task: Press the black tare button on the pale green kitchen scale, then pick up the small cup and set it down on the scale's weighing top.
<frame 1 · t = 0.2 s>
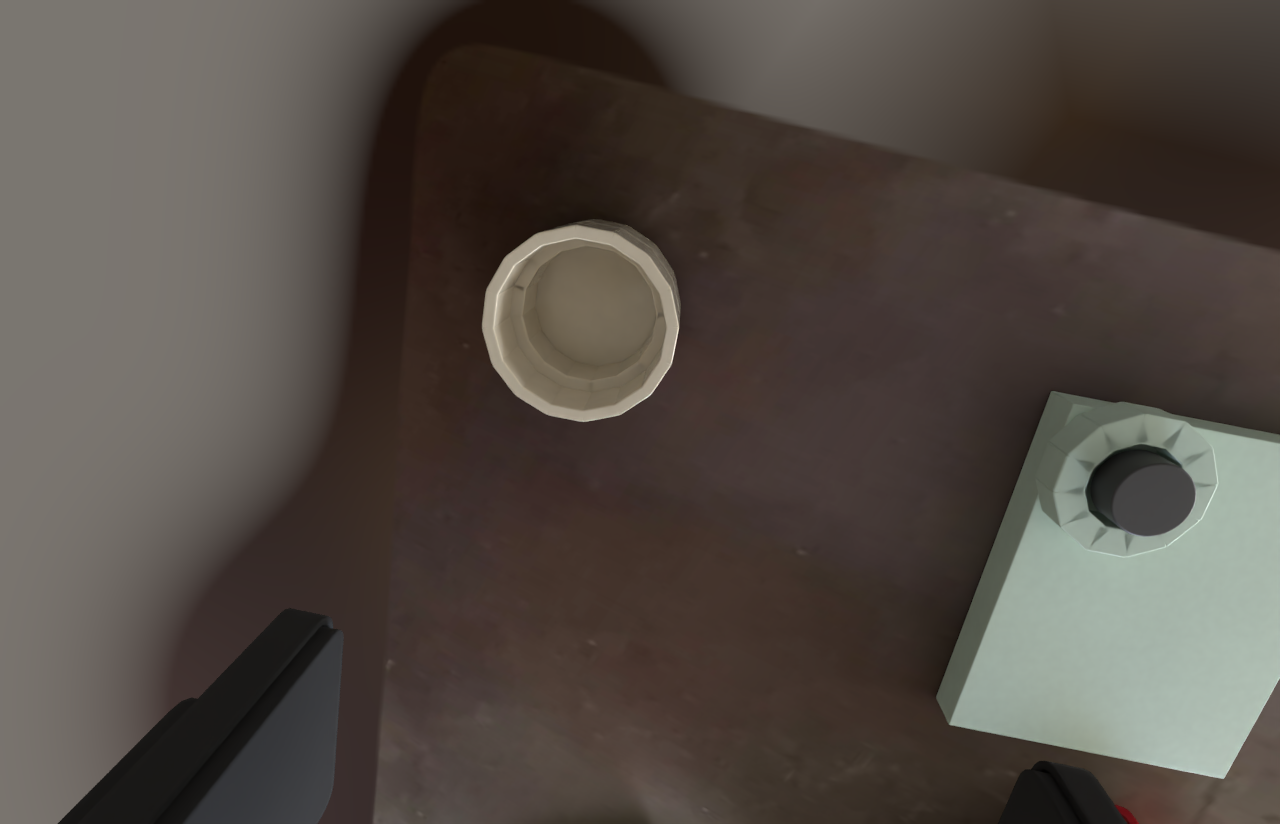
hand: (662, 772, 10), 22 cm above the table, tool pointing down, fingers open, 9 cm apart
cup: (598, 303, 30), on the table
scale: (1129, 582, 33), on the table
tare button: (1141, 492, 27), point 4 cm above the table, slide at 0.1 cm
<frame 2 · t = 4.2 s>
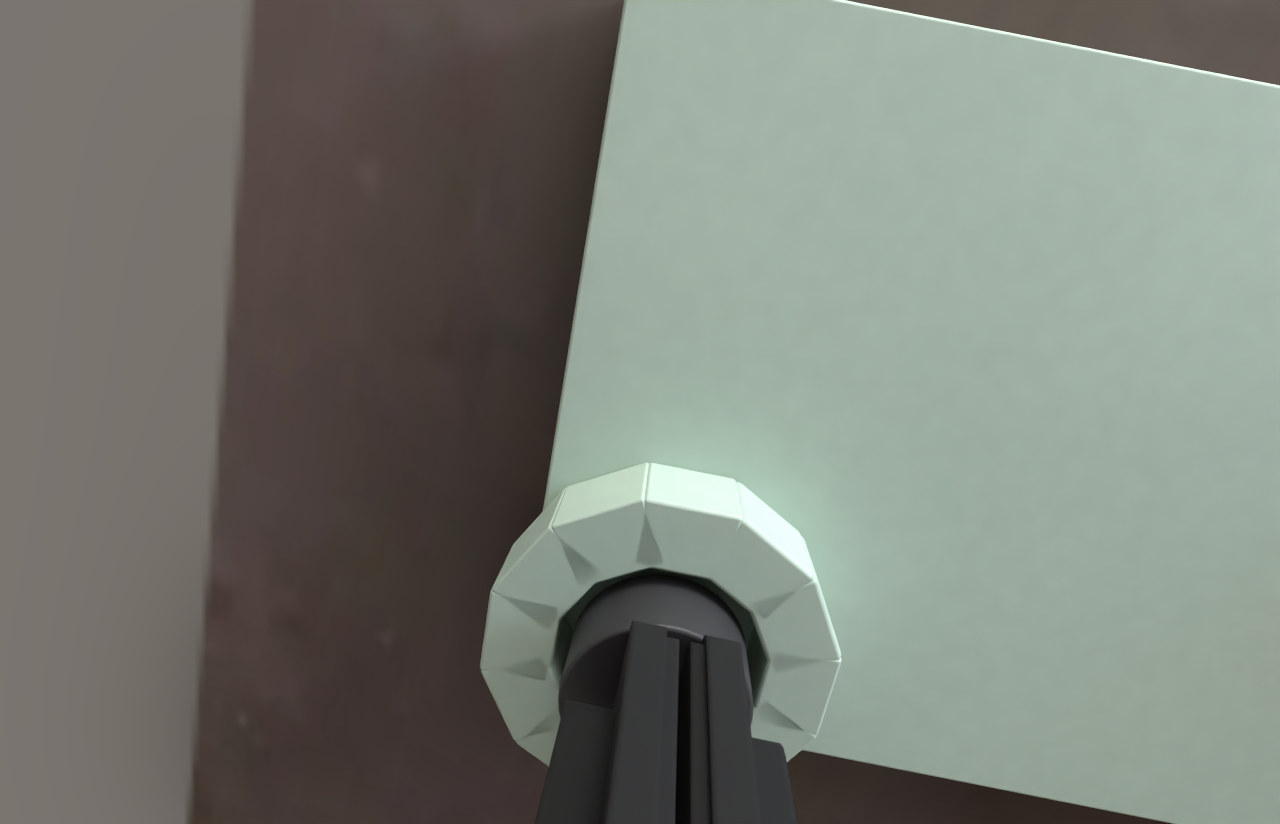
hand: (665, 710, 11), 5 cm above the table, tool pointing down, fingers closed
scale: (977, 438, 14), on the table
tare button: (656, 678, 12), point 4 cm above the table, slide at 0.0 cm, touching gripper
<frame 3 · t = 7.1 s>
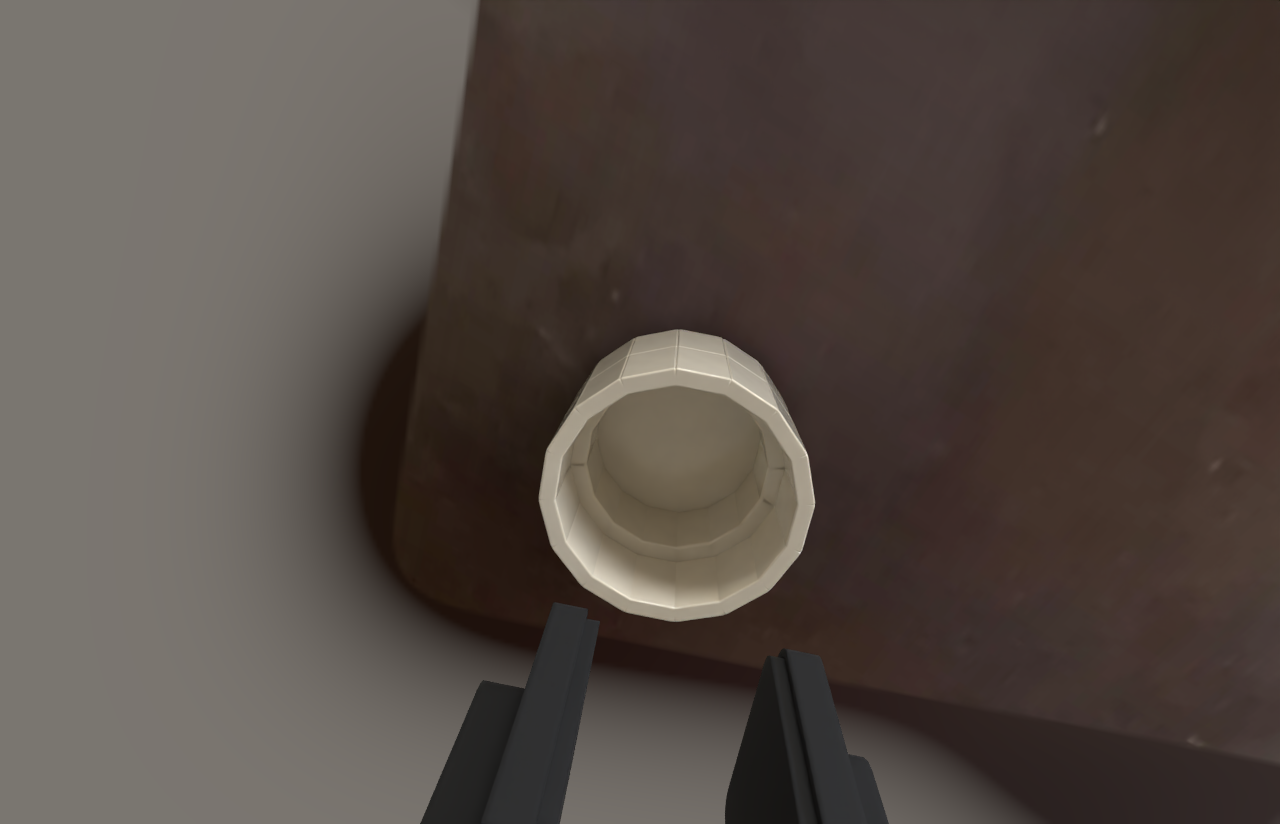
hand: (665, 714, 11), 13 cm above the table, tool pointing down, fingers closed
cup: (678, 432, 23), on the table
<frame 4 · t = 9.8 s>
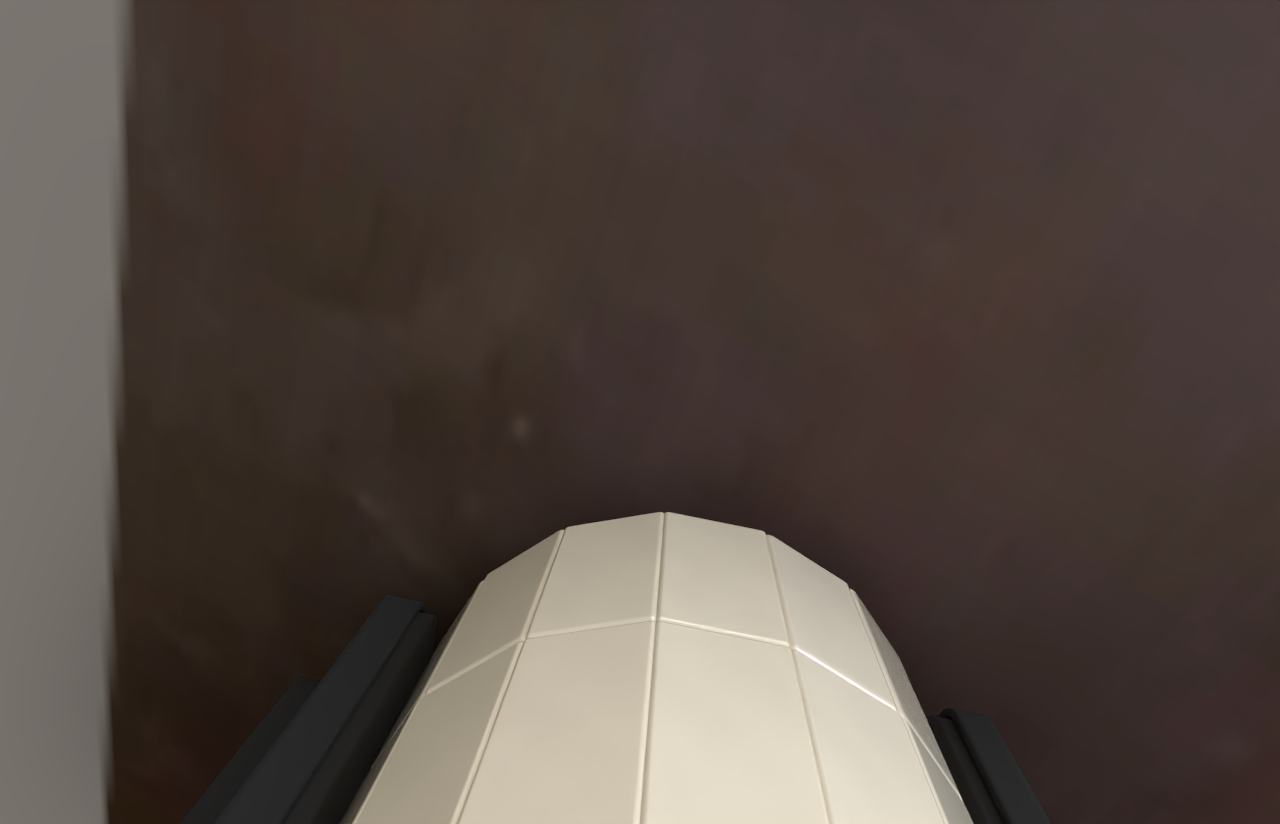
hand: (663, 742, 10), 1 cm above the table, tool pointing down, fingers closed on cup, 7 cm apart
cup: (665, 704, 11), on the table, touching gripper
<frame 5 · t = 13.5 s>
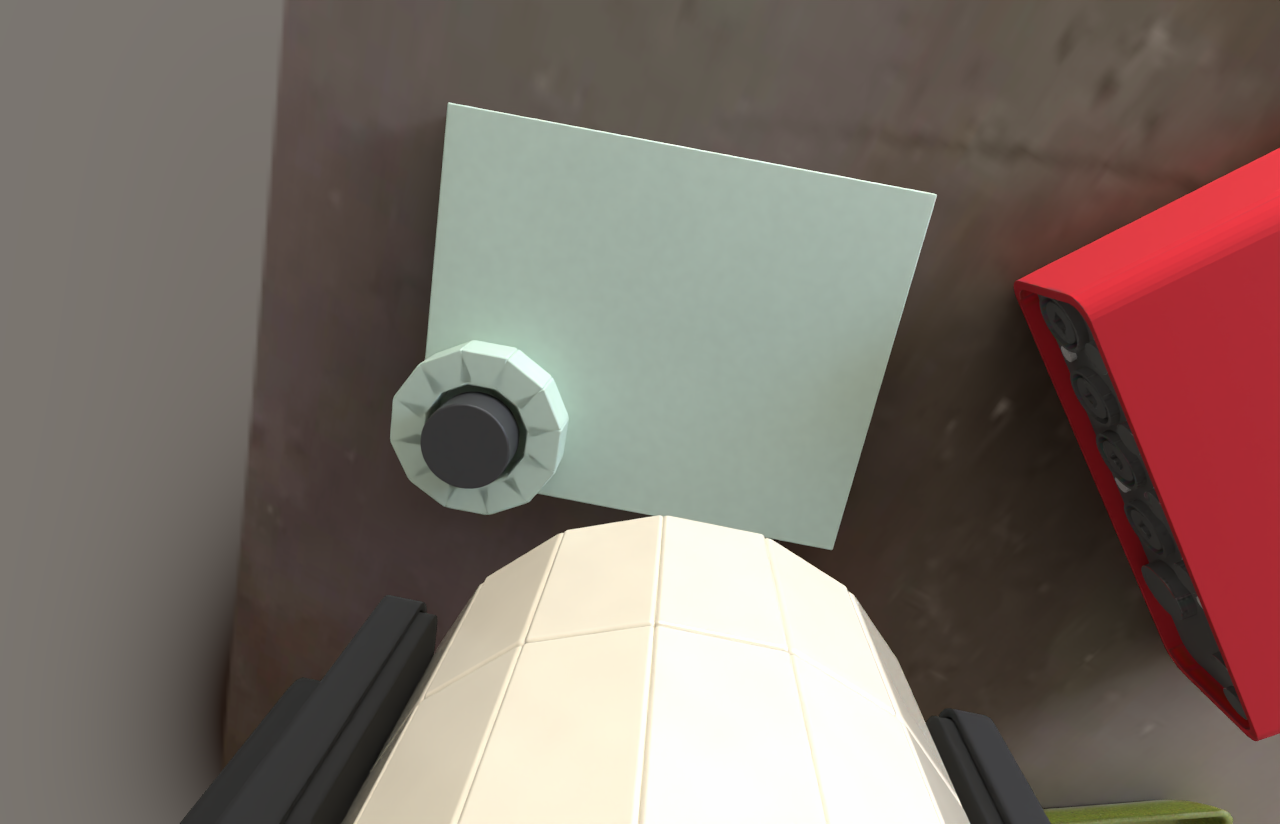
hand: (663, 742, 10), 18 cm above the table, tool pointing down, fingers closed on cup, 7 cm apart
cup: (664, 707, 11), point 17 cm above the table, touching gripper
scale: (657, 333, 27), on the table
tare button: (471, 439, 24), point 4 cm above the table, slide at 0.1 cm
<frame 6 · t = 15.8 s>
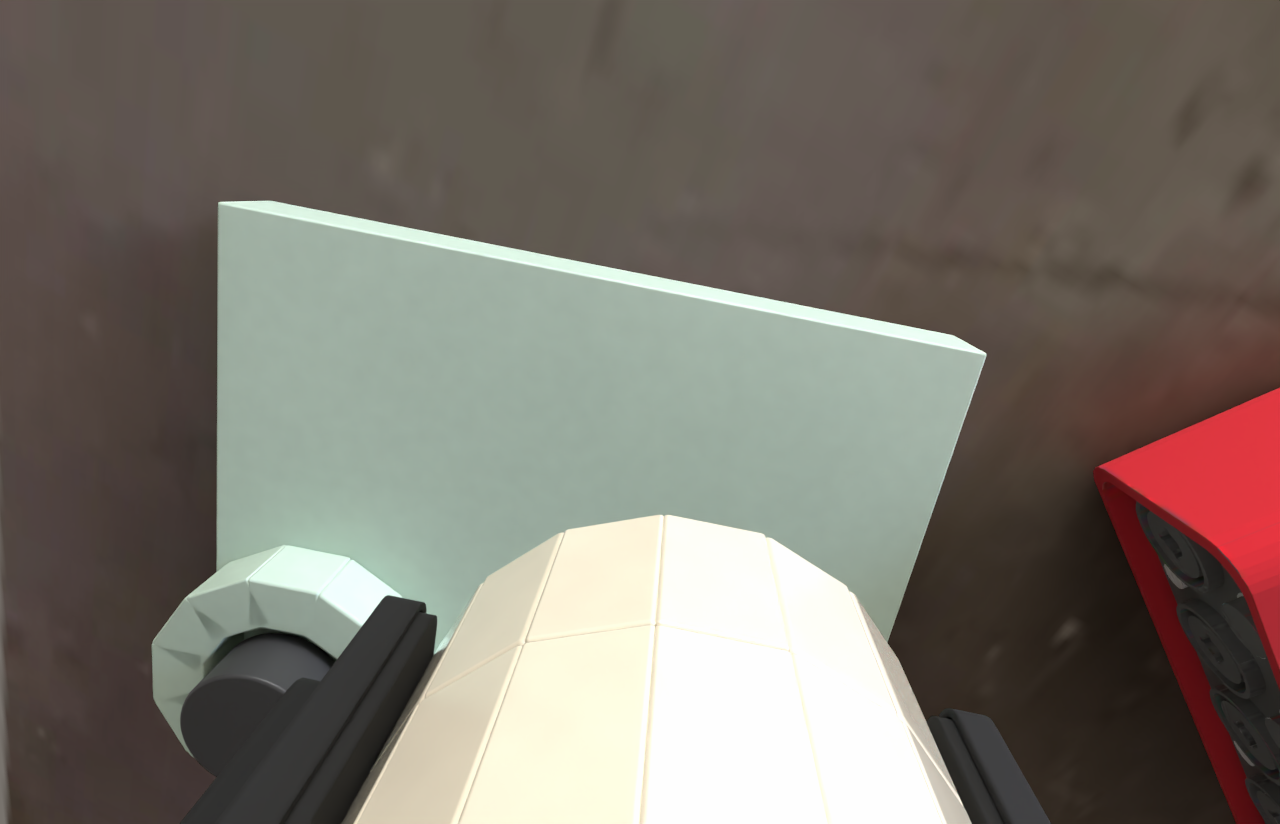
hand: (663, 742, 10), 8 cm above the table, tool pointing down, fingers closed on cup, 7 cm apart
cup: (665, 707, 11), point 7 cm above the table, touching gripper
scale: (567, 520, 18), on the table
tare button: (268, 710, 16), point 4 cm above the table, slide at 0.1 cm
when the fingers open (3 cm above the table, at t = 17.7 s): cup stays where it is, resting on scale.
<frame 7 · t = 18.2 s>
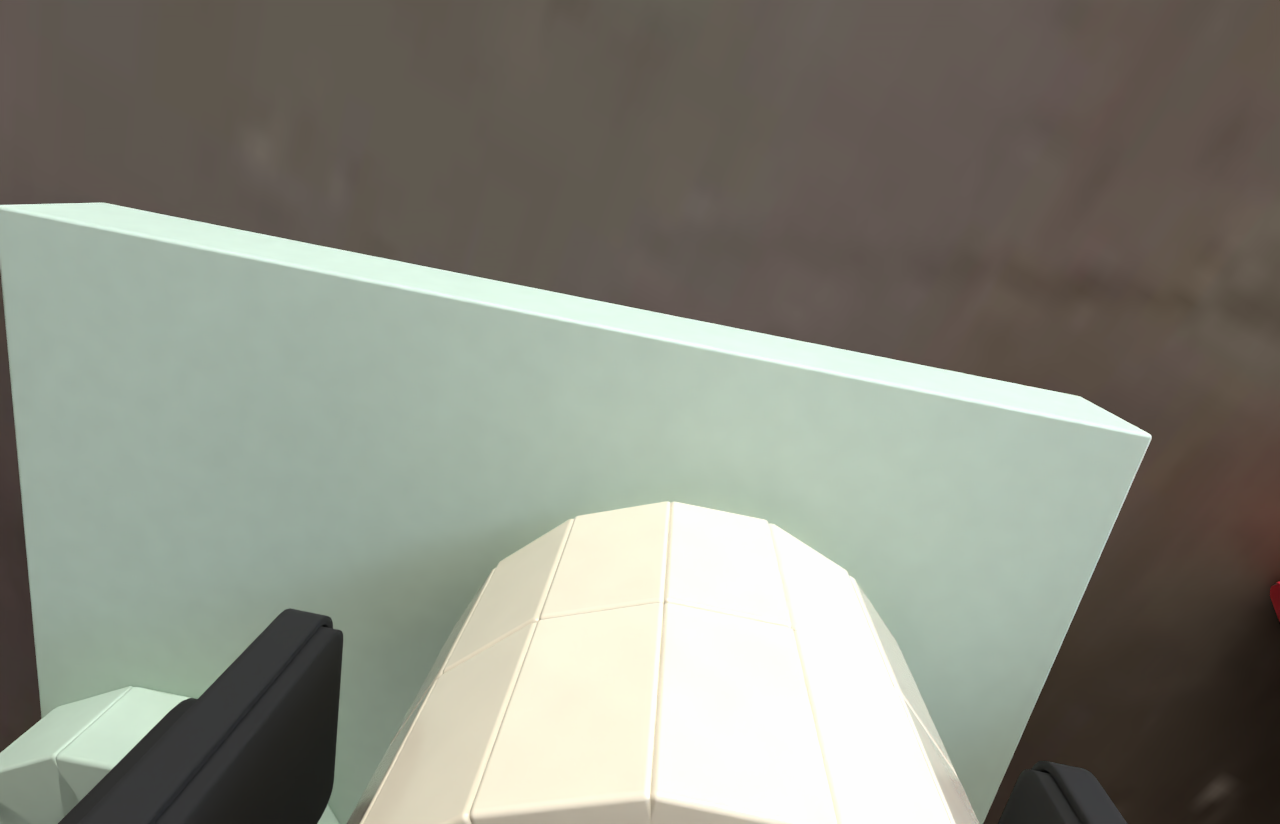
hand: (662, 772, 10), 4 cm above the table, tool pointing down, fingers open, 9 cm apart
cup: (671, 689, 11), point 2 cm above the table, touching scale
scale: (532, 638, 13), on the table
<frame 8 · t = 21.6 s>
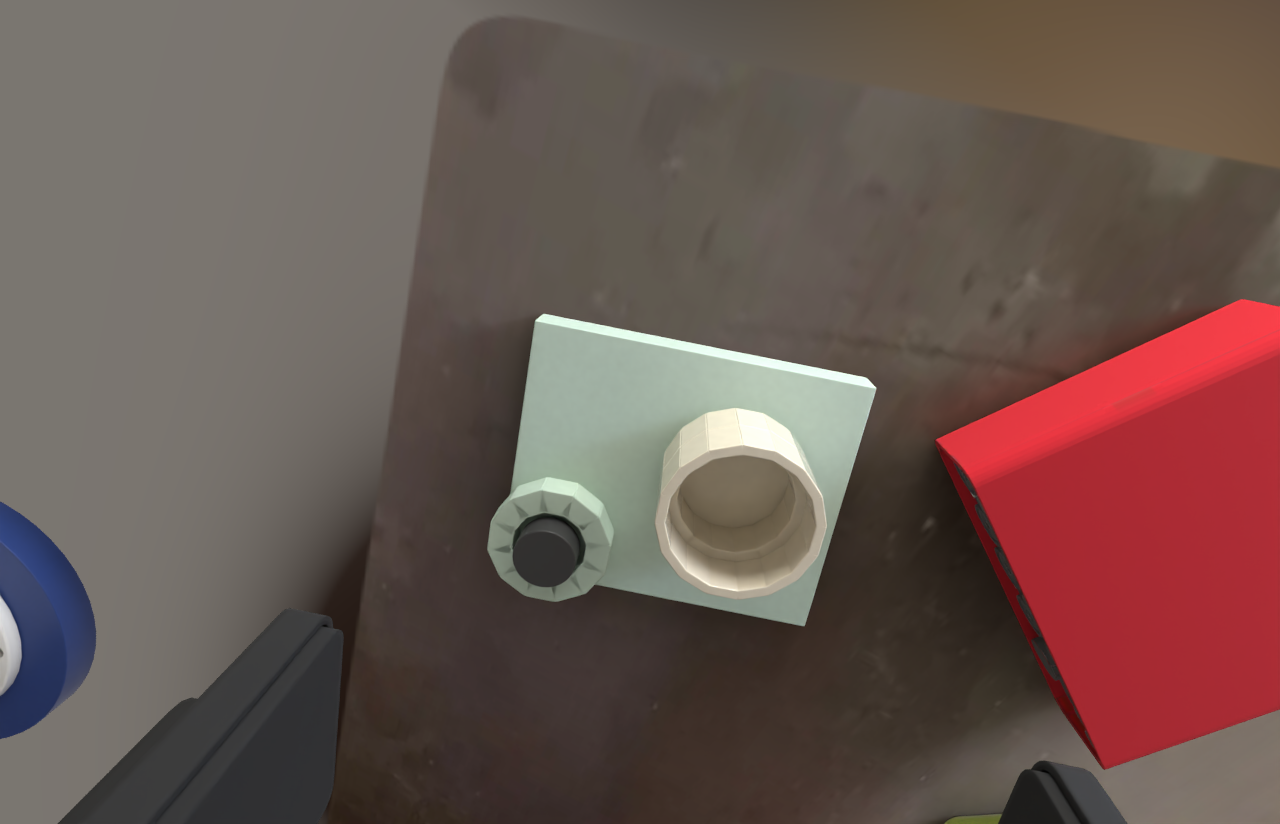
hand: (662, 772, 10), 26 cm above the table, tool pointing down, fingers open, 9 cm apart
red device housing: (1133, 519, 36), on the table
cup: (732, 474, 34), point 2 cm above the table, touching scale
scale: (677, 467, 37), on the table
tare button: (546, 551, 34), point 4 cm above the table, slide at 0.1 cm
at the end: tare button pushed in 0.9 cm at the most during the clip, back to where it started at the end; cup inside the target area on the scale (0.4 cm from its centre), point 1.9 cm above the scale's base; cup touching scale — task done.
